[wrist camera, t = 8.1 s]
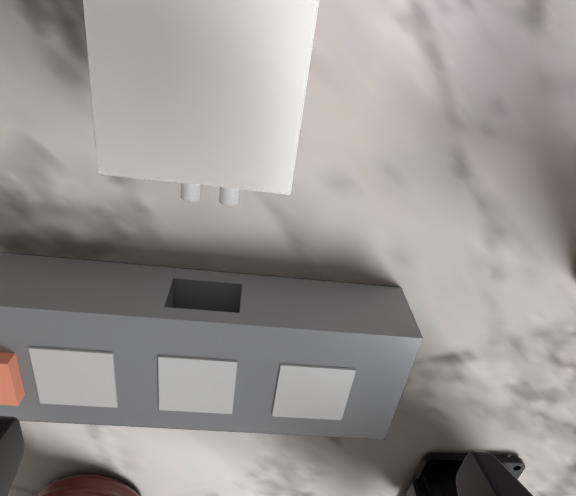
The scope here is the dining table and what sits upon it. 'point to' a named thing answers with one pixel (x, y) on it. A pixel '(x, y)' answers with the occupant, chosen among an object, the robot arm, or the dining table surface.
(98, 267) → the power strip
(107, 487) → the mug
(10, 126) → the dining table surface
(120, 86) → the block
